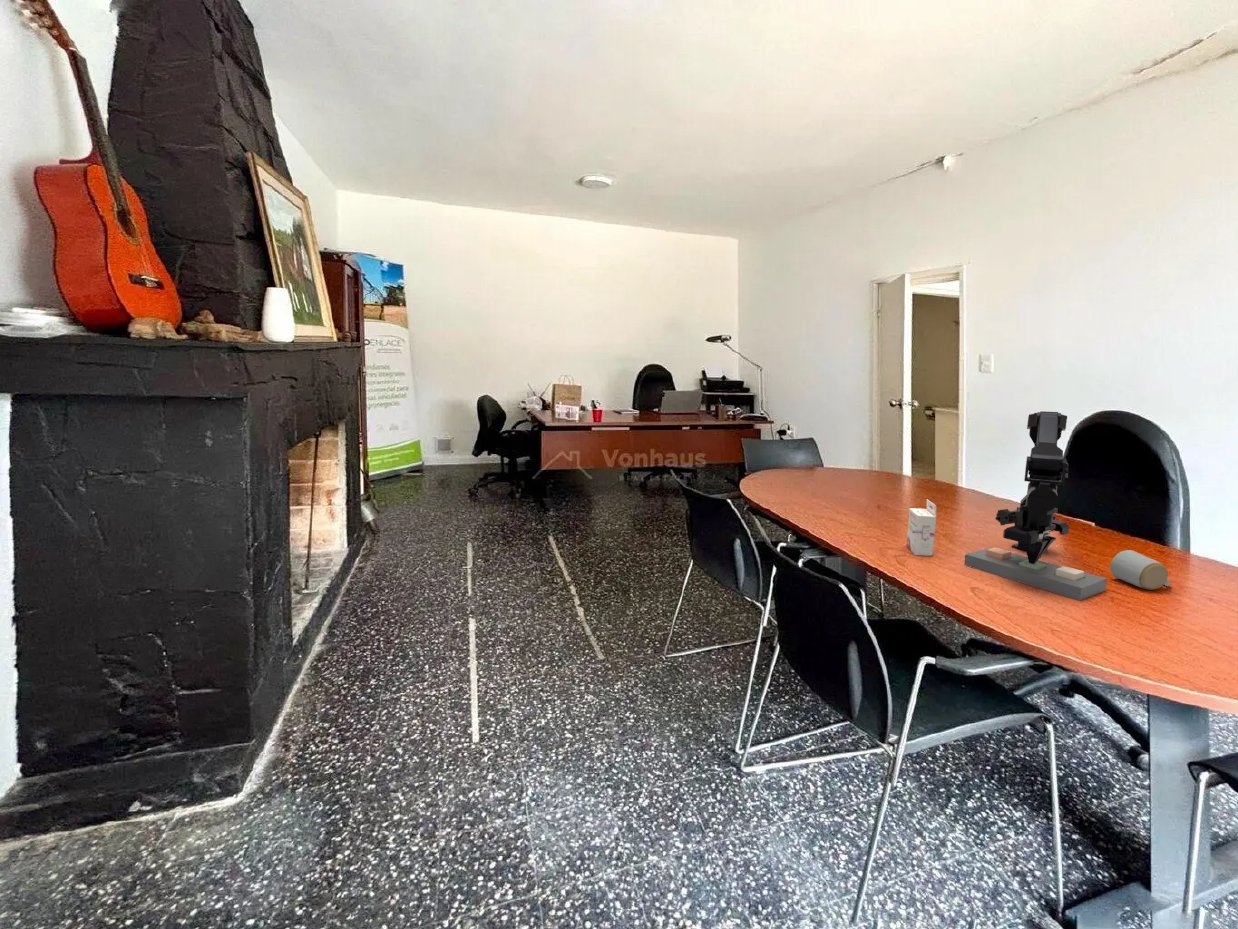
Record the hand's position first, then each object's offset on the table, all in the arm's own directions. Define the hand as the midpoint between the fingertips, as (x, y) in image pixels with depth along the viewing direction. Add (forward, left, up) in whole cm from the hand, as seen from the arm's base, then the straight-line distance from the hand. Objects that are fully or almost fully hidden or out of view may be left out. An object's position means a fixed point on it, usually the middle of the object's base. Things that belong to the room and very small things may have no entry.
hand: (1032, 563), depth 139 cm
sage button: (0, 0, -2) cm, 2 cm away
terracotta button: (0, -8, -2) cm, 8 cm away
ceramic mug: (-18, +15, -4) cm, 24 cm away
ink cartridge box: (+6, -26, -4) cm, 27 cm away
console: (0, 0, -4) cm, 4 cm away
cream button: (0, +8, -2) cm, 8 cm away
